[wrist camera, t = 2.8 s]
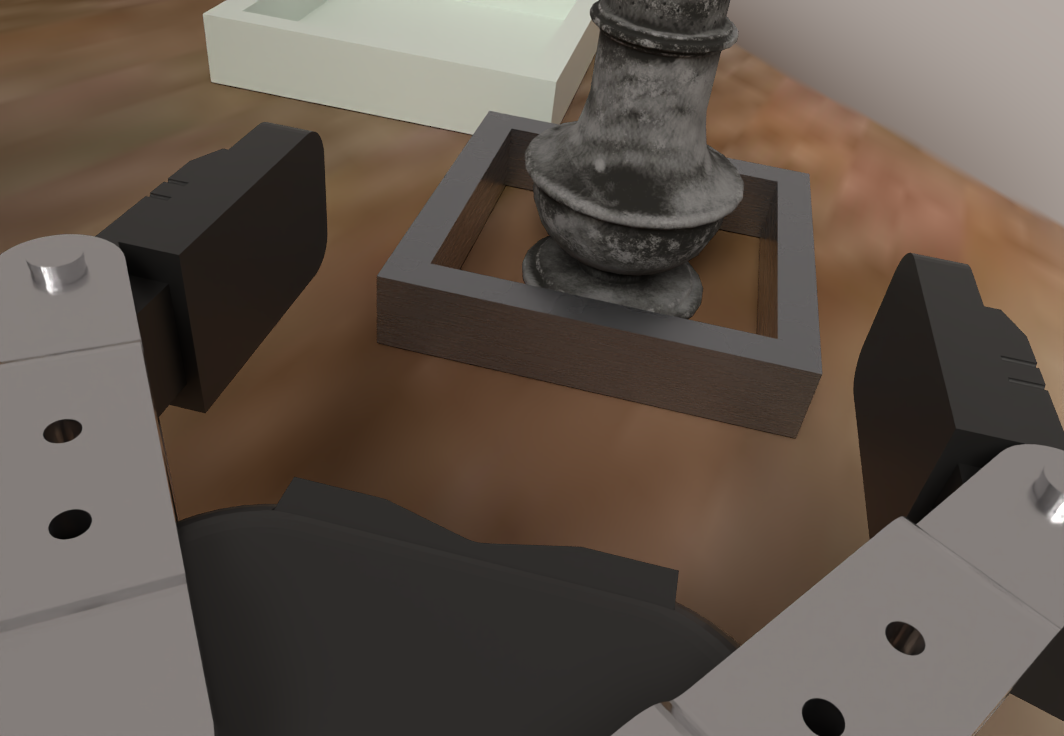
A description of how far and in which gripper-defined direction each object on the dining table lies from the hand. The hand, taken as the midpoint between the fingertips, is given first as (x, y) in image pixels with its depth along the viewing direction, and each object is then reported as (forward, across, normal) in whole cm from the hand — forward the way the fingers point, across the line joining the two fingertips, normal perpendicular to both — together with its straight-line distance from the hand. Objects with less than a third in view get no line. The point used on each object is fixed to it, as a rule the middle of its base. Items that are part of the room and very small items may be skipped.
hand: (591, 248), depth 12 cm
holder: (+11, 0, +7) cm, 14 cm away
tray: (+25, +10, +7) cm, 28 cm away
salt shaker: (+11, 0, +8) cm, 14 cm away
